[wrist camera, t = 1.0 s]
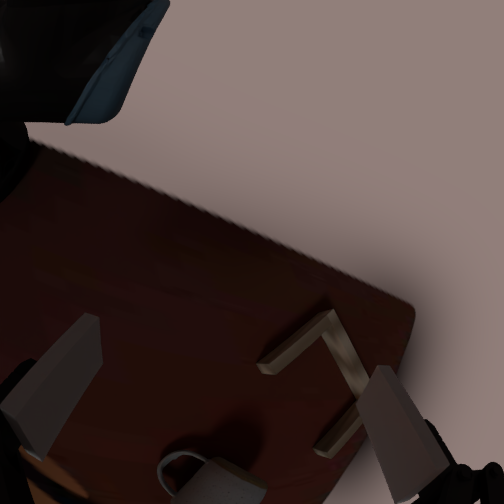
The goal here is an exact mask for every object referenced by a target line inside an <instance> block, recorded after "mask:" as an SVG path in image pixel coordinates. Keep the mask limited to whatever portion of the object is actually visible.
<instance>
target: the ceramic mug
mask: <svg viewBox="0 0 504 504" xmlns="http://www.w3.org/2000/svg"><path fill="white" fill-rule="evenodd" d="M183 454H185V455H192V456H194V457H196V458H199V459H201V460H202V461H204V462H205V464H204V465H203V466H202V467H201V468H200V469H199V470H198V472H197V473H196V474H195V475H194V476H193V477H192V478H191V479H190V480H189V481H188V482H187V483H186V484H185V485H184V486H183V487H182V488H181V489H180V490H179V491H178V492H175V491H174V490H173V489H172V488H171V487H170V486H169V485H168V484H167V483H166V481H165V480H164V477H163V474H162V470H163V468H164V467H165V466H166V465H167V464H168V463H169V462H170V461H172V460H173V459H177V458H178V457H179V456H180V455H183ZM157 474H158V478H159V481H160V483H161V484H162V486H163V487H164V488H165V490H166V491H167V492H168V493H169V494H170V495H172V496H173V498H172V499H171V504H259V503H260V502H261V501H262V499H263V498H264V496H265V493H266V491H267V488H268V486H267V483H266V482H265V481H263V480H262V479H260V478H258V477H256V476H255V475H253V474H251V473H249V472H247V471H245V470H244V469H242V468H240V467H238V466H236V465H235V464H233V463H231V462H229V461H227V460H225V459H223V458H221V457H213V458H211V459H207V458H205V457H204V456H202V455H200V454H198V453H195V452H193V451H188V450H177V451H174V452H171V453H169V454H168V455H167V456H165V457H164V458H163V459H162V460H161V461H160V463H159V464H158V469H157Z"/></svg>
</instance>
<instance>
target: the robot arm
mask: <svg viewBox="0 0 504 504" xmlns="http://www.w3.org/2000/svg"><path fill="white" fill-rule="evenodd" d="M169 6H170V1H169V0H0V202H1V201H2V200H3V199H4V198H5V197H6V196H7V195H8V194H9V193H10V192H11V191H12V189H13V188H14V187H15V185H16V184H17V183H18V181H19V179H20V178H21V176H22V174H23V172H24V170H25V168H26V165H27V162H28V159H29V153H30V142H29V137H28V132H27V128H26V125H25V123H24V122H50V123H64V125H66V126H67V125H71V124H72V123H88V124H101V123H105V122H108V121H109V120H111V119H113V118H114V117H115V116H116V115H117V114H118V113H119V111H120V110H121V107H122V105H123V103H124V100H125V98H126V96H127V93H128V91H129V88H130V86H131V83H132V81H133V79H134V76H135V74H136V72H137V69H138V67H139V65H140V63H141V60H142V58H143V56H144V54H145V52H146V50H147V47H148V45H149V43H150V41H151V39H152V37H153V35H154V33H155V31H156V29H157V27H158V25H159V24H160V22H161V21H162V19H163V17H164V15H165V13H166V11H167V9H168V8H169ZM102 364H103V359H102V349H101V338H100V324H99V317H97V316H94V315H91V314H88V313H84V314H83V315H82V316H81V317H80V318H79V319H78V320H77V321H76V322H75V323H74V324H73V325H72V326H71V327H70V328H69V329H68V330H67V331H66V332H65V333H64V334H63V335H62V336H61V337H60V338H59V339H58V340H57V341H56V342H55V343H54V345H53V346H52V347H51V348H50V349H49V350H48V351H47V352H46V353H45V354H44V355H43V356H42V357H41V358H40V359H39V360H38V361H35V360H34V359H32V358H30V359H28V360H26V361H24V362H22V363H20V364H19V365H18V367H17V368H16V369H15V370H14V372H12V373H11V374H10V375H9V376H8V378H6V379H5V380H4V381H3V383H2V384H1V385H0V504H35V503H34V501H33V498H32V495H31V492H30V488H29V486H28V482H27V478H26V475H25V471H24V467H23V463H22V459H21V455H20V452H19V450H18V449H19V447H20V445H22V446H23V448H24V449H25V451H26V452H27V453H29V454H30V455H32V456H34V457H35V458H37V459H39V460H40V461H42V462H43V460H44V458H45V456H46V455H47V453H48V451H49V449H50V447H51V446H52V444H53V442H54V441H55V439H56V437H57V435H58V434H59V432H60V430H61V429H62V427H63V425H64V424H65V422H66V420H67V419H68V417H69V415H70V414H71V412H72V410H73V409H74V407H75V406H76V404H77V402H78V401H79V399H80V398H81V396H82V394H83V393H84V391H85V390H86V388H87V387H88V385H89V384H90V382H91V381H92V379H93V378H94V376H95V374H96V373H97V371H98V370H99V368H100V367H101V365H102ZM356 407H357V409H358V412H359V414H360V416H361V419H362V421H363V424H364V426H365V428H366V431H367V433H368V436H369V438H370V441H371V443H372V445H373V448H374V451H375V453H376V456H377V458H378V461H379V463H380V466H381V468H382V471H383V473H384V476H385V479H386V482H387V484H388V487H389V490H390V492H391V495H392V498H393V500H394V503H395V504H398V503H401V502H405V501H408V500H410V499H411V498H412V497H414V496H415V495H416V494H417V493H418V494H419V498H418V499H417V500H415V501H414V502H413V503H411V504H474V503H475V502H476V501H478V500H479V499H480V502H481V504H504V472H503V469H502V467H501V466H500V465H499V464H498V463H496V462H490V463H488V464H487V465H486V466H485V467H484V468H483V469H482V470H472V469H471V468H470V467H469V466H467V465H465V464H457V463H456V462H455V460H454V458H453V457H452V455H451V453H450V451H449V450H448V448H447V446H446V445H445V443H444V442H443V441H442V438H441V436H440V435H439V433H438V431H437V430H436V428H435V426H434V425H433V424H432V423H430V422H429V421H428V420H427V419H423V417H422V416H421V414H420V413H419V411H418V409H417V408H416V406H415V404H414V403H413V401H412V400H411V398H410V396H409V395H408V393H407V392H406V390H405V389H404V387H403V386H402V384H401V382H400V381H399V380H398V378H397V376H396V375H395V373H394V372H393V370H392V369H391V367H390V366H384V365H377V367H376V369H375V371H374V373H373V375H372V376H371V378H370V380H369V382H368V384H367V385H366V387H365V389H364V391H363V393H362V394H361V396H360V398H359V399H358V401H357V403H356Z"/></svg>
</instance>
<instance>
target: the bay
mask: <svg viewBox="0 0 504 504" xmlns="http://www.w3.org/2000/svg"><path fill="white" fill-rule="evenodd" d="M320 335H322V337H323V339H324V340H325V342H326V344H327V346H328V348H329V350H330V351H331V353H332V355H333V357H334V359H335V361H336V363H337V364H338V366H339V368H340V370H341V372H342V374H343V376H344V377H345V379H346V381H347V383H348V385H349V387H350V389H351V391H352V392H353V394H354V396H355V398H356V401H355V402H354V403H353V404H352V406H351V407H350V408H349V409H348V410H347V411H346V413H345V414H344V415H343V416H342V417H341V418H340V419H339V421H338V422H337V423H336V424H335V425H334V426H333V427H332V428H331V429H330V430H329V431H328V433H327V434H326V435H325V436H324V437H323V438H322V439H321V440H320V441H319V442H318V443H317V444H316V445H315V446H314V447H313V450H314V451H315V453H316V454H318V455H321V456H324V457H327V458H330V459H332V458H333V456H334V455H335V454H336V453H337V452H338V451H339V450H340V449H341V448H342V447H343V445H344V444H345V443H346V442H347V441H348V440H349V439H350V437H351V436H352V435H353V434H354V433H355V431H356V430H357V429H358V428H359V426H360V425H361V424H362V423H363V421H362V419H361V416H360V414H359V412H358V409H357V407H356V403H357V401H358V399H359V398H360V396H361V394H362V393H363V391H364V389H365V387H366V385H367V384H368V382H369V380H370V379H369V377H368V375H367V373H366V371H365V369H364V367H363V365H362V363H361V361H360V359H359V357H358V355H357V353H356V351H355V349H354V347H353V345H352V343H351V341H350V339H349V337H348V336H347V334H346V332H345V330H344V328H343V326H342V324H341V322H340V320H339V318H338V316H337V315H336V313H335V311H334V309H331V310H327V311H323V312H319V313H318V314H316V315H315V316H314V317H313V318H312V319H311V320H309V321H308V322H307V323H306V324H305V325H304V326H302V327H301V328H300V329H299V330H298V331H296V332H295V333H294V334H293V335H291V336H290V337H289V338H288V339H287V340H285V341H284V342H283V343H282V344H280V345H279V346H278V347H276V348H275V349H274V350H273V351H271V352H270V353H269V354H268V355H266V356H265V357H264V358H262V359H261V360H260V361H258V362H257V363H256V364H257V366H258V368H259V369H260V371H261V372H262V373H263V374H274V375H276V374H277V373H278V372H280V371H281V370H282V369H283V368H284V367H286V366H287V365H288V364H289V363H290V362H291V361H293V360H294V359H295V358H296V357H297V356H298V355H299V354H301V353H302V352H303V351H304V350H305V349H306V348H307V347H308V346H310V345H311V344H312V343H313V342H314V341H315V340H316V339H317V338H318V337H319V336H320Z"/></svg>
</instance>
